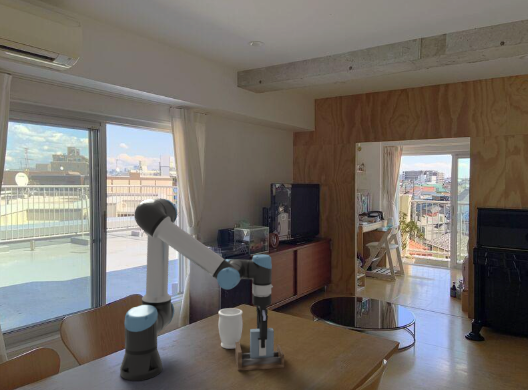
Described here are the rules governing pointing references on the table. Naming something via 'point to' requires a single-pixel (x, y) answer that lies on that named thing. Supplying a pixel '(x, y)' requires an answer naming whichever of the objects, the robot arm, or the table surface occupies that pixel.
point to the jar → (230, 327)
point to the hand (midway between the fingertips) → (261, 352)
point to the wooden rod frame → (258, 360)
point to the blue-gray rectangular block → (255, 343)
